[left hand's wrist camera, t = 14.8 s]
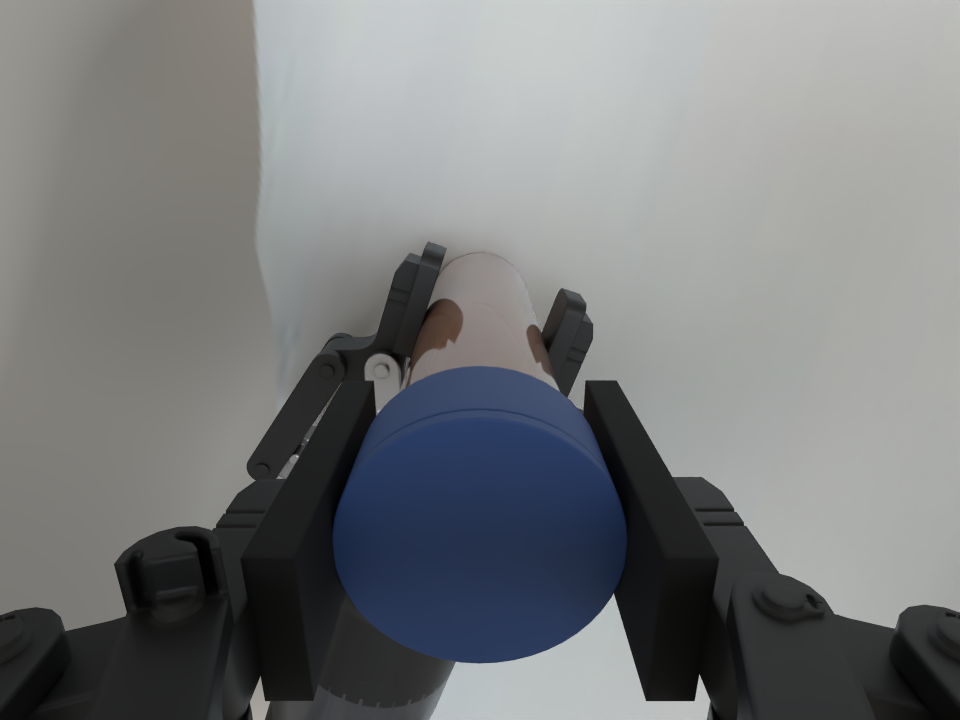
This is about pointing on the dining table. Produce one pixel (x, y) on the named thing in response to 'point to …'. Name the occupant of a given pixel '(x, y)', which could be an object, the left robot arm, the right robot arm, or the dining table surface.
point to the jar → (480, 322)
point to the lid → (479, 518)
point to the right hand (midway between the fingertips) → (504, 274)
